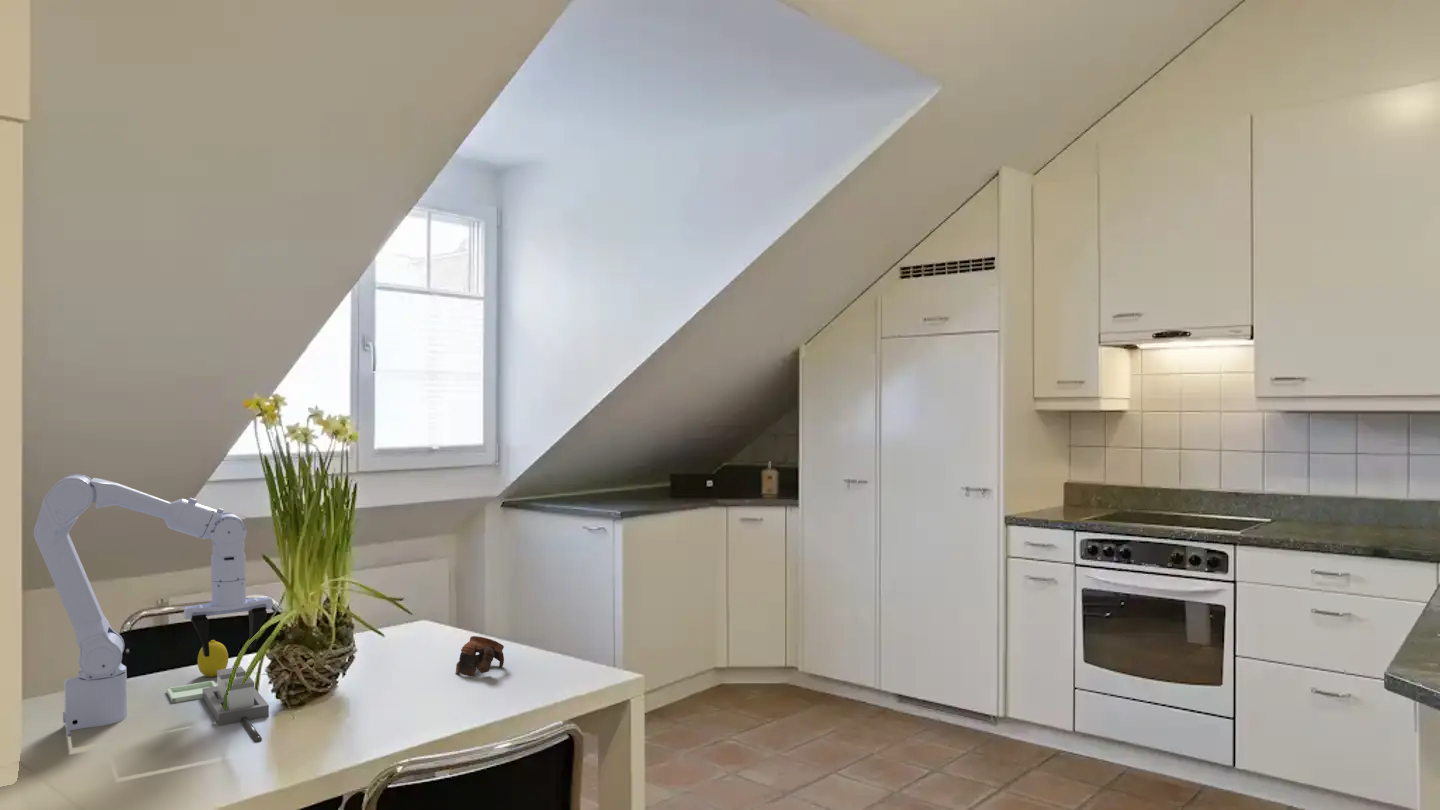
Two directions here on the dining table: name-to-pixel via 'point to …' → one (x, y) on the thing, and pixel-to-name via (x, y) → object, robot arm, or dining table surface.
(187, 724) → the dining table surface
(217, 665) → the lemon
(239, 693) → the twin plug
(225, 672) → the plug
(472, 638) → the brown belt with pouches
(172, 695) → the tray
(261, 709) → the power strip
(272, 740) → the dining table surface
